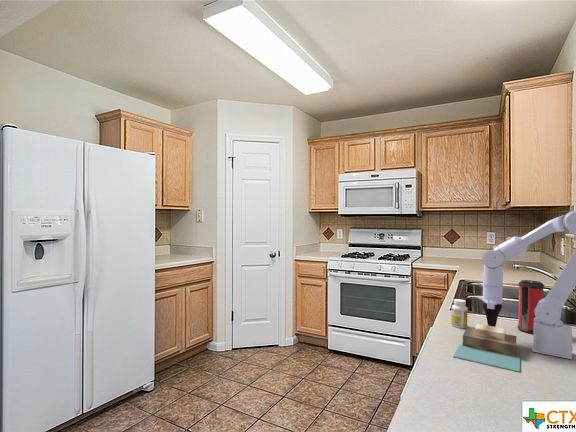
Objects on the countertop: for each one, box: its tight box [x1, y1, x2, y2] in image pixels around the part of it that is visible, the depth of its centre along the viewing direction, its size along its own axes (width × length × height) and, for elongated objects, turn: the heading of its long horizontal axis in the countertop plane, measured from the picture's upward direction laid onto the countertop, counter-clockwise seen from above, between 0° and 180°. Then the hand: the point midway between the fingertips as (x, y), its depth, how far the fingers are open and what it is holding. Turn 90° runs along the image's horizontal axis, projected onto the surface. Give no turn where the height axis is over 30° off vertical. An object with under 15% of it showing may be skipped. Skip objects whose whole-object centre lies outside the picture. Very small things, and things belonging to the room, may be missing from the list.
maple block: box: [474, 323, 506, 340], centre depth 109 cm, size 8×6×2 cm
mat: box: [453, 344, 521, 373], centre depth 100 cm, size 16×11×1 cm
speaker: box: [517, 279, 546, 335], centre depth 125 cm, size 8×8×18 cm
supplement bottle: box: [450, 298, 468, 329], centre depth 129 cm, size 5×5×10 cm
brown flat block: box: [462, 326, 518, 357], centre depth 109 cm, size 14×10×4 cm
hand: (491, 325), depth 116 cm, fingers closed
